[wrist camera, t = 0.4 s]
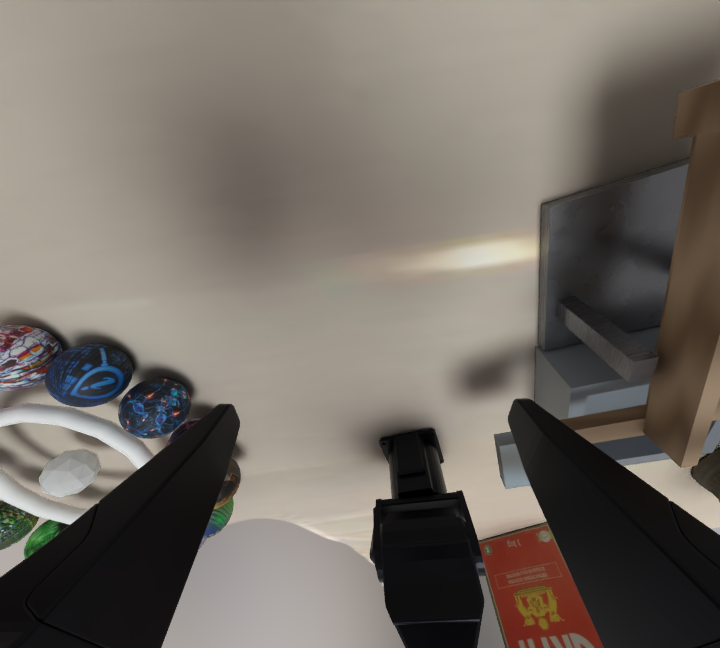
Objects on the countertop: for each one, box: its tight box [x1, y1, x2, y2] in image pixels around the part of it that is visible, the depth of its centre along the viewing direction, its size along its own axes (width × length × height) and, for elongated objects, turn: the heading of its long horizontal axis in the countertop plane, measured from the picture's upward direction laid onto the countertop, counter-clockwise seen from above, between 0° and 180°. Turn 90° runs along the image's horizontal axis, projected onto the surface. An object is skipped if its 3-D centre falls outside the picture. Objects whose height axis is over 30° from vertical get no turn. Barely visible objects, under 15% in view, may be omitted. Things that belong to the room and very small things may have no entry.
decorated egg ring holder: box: [0, 325, 241, 559], centre depth 31 cm, size 35×35×9 cm
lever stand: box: [538, 158, 690, 382], centre depth 17 cm, size 12×12×8 cm
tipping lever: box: [494, 79, 720, 489], centre depth 14 cm, size 23×16×4 cm
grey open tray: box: [535, 325, 720, 466], centre depth 24 cm, size 12×12×5 cm
